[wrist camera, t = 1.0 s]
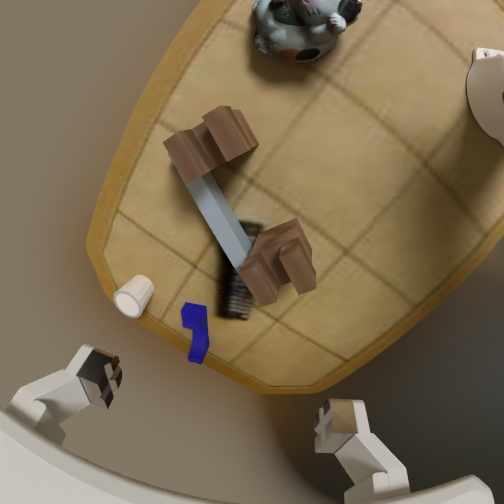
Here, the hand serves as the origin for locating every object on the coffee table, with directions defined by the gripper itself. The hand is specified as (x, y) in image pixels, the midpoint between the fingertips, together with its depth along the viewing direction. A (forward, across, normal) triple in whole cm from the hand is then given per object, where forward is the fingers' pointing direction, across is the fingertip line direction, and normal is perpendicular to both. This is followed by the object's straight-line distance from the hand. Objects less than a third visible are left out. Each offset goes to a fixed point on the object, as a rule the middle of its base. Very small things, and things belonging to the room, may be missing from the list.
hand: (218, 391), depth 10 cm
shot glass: (+40, +21, +27) cm, 53 cm away
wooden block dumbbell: (+37, +1, +2) cm, 37 cm away
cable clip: (+40, +8, +33) cm, 52 cm away
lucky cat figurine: (+36, -1, -27) cm, 45 cm away
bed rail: (+38, +6, +6) cm, 39 cm away
